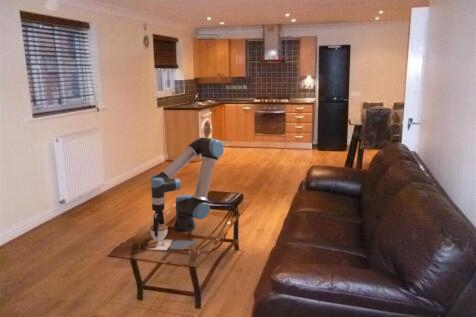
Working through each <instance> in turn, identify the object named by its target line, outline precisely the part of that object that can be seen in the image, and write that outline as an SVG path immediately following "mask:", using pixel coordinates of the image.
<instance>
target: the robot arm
mask: <svg viewBox="0 0 476 317" xmlns="http://www.w3.org/2000/svg"><path fill="white" fill-rule="evenodd" d="M224 150H225V148H224V144H223V142H222V141H221V140H219V139H216V138H211V137H210V138H209V137H199V138H196V139H194V140H193V141H192V142H191V143H190V144H189V145H187V146H186V148H185V150H184V151H182V153H181V154H179V156H177V157H176V158H175V159H174V160H172V162H171V163H170V164H168V165H166V167H165V168H164V169H163V170H161V171H160V172H159V174H152V175H151V177H150V183H151V184H150V188H151V189H150V190H151V203H152V204H151V209H152V211H154V214H153V224H152V225H153V231H154V238H153V239H154V241H159V231H158V229H159V224H165V225H166V222H165V217H164V210H165V193H170V192H175V191H177V190H180V189H181V187H182V182H181V180H180V178H178V177H175V176H176V175H177V174H178V173H179V172H180V171H181V170H182V169H183V168H184V167H185V166H187V164H189V163H191V161H193V159H194V158H197V157H199V156H200V158H201V160H202V161H201V164H200V168H199V174H198V178H197V180H196V185H195V190H194V193H193V195H192V194H182V195H178V196H176V197H175V219H174V222H173V229H174V231H176V232H177V231H178V232H190V231H193V230H195V229H196V223H195V220H204V219H205V218H206V217H207V216H208V215H210V211H211V207H210V205H209V198H208V193H209V190H210V185H211V180H212V178H213V177H212V176H213V171H214V168H215V164H216V162H218V160H219V158H220V157H221V156H223V154H224Z"/></svg>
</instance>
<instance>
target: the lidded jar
mask: <svg viewBox="0 0 476 317" xmlns="http://www.w3.org/2000/svg"><path fill="white" fill-rule="evenodd" d="M168 228H169V227H168V224H166V223H165V224H159V229H158V231H159V240H163V239H165V238H166V237H167V235H168ZM149 231H150V232H149V233H150V236H151V237H152V239H154V231H153V224H151V225H150V226H149Z"/></svg>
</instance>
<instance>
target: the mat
mask: <svg viewBox="0 0 476 317" xmlns="http://www.w3.org/2000/svg"><path fill="white" fill-rule="evenodd" d="M173 240H174V239H173ZM195 243H196V244H197V241H196V240H179V239H178V240H177V239H176V240H174V241H172V243H171V244H170V246H169V250H174V251H175V250H176V251H185V250H184V249H185V248H187V247H188V246H190V245H193V244H195ZM196 244H195V245H196Z"/></svg>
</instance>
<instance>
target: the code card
mask: <svg viewBox="0 0 476 317" xmlns="http://www.w3.org/2000/svg"><path fill="white" fill-rule="evenodd" d="M172 243H173V239H168V238H167V239H165V238H164V239H163V240H159V241H158V243H157V245H156V247H155V248H150V249H149V248H148V249H147V250H151V251H152V250H153V251H155V250H156V251H167V250H168V248H170V246H171V245H172Z"/></svg>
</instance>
